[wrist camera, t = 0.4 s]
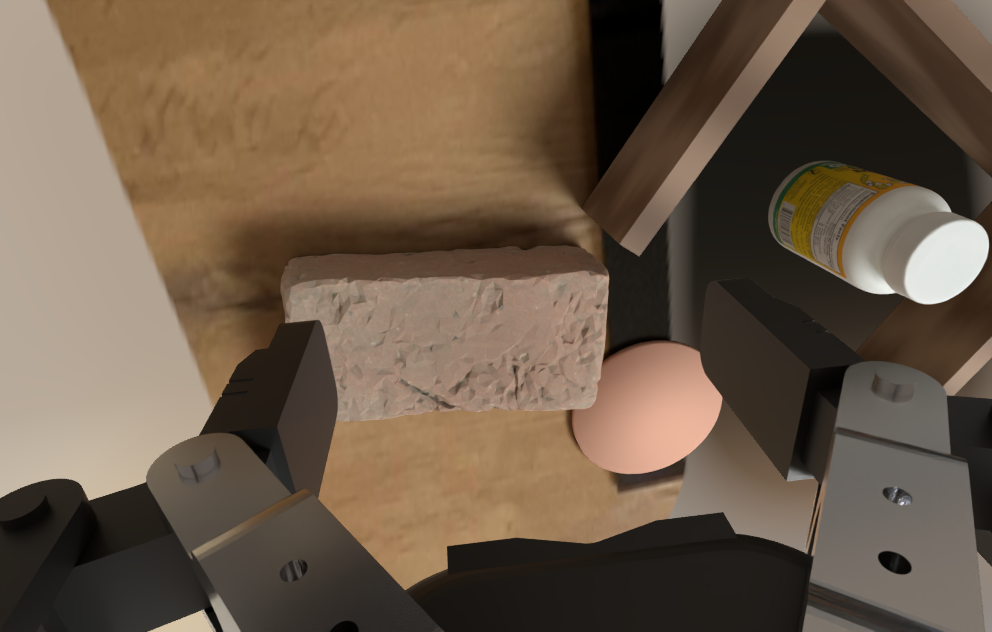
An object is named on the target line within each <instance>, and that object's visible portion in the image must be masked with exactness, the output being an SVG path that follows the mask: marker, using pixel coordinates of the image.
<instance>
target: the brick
mask: <svg viewBox="0 0 992 632" xmlns="http://www.w3.org/2000/svg"><path fill="white" fill-rule="evenodd" d="M608 283H609V275H608V271H607V269H606V268H605V266H604V265H603V264H602V263H601V262H600V261H599V260H597V259H596V258H595V257H594V256H593V255H592V254H590V253H588V252H587V251H586V250H585V249H582V248H580V247H571V246H568V245H561V246H537V247H534V248H532V249H528V250H522V249H520V248H518V247H515V246H506V247H502V248H487V249H456V250H451V251H442V250H440V251H429V252H421V253H414V252H410V253H391V254H383V255H372V254H329V255H323V256H305V257H296V258H293V259H291V260H290V261H289V263H288V265H287V266H285V269H284V273H283V275H282V277H281V288H280V291H281V295H282V300H283V306H284V311H285V323H290V322H300V321H310V320H320V322H321V323H322V326H323V329H324V332H325V337H326V341H327V346H328V350H329V355H330V359H331V364H332V368H333V373H334V377H335V382H336V387H337V395H338V412H337V418H336V421H366V420H381V419H390V418H395V417H399V416H404V415H420V414H424V413H428V412H431V411H433V410H434V409H435V410H437V411H439V412H447V411H453V410H465V411H475V412H481V411H482V410H485V411H489V410H491V409H492V408H497V409H502V410H509V411H510V410H516V409H519V410H523V411H549V410H570V409H586V408H589V407H591V406H592V405H593V404H594V402H595V400H596V396H597V390H598V385H597V382H598V381H599V380H600V378H601V367H602V361H603V354H604V346H605V337H606V318H607V302H608V292H609V291H608Z"/></svg>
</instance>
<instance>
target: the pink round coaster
mask: <svg viewBox="0 0 992 632" xmlns="http://www.w3.org/2000/svg"><path fill="white" fill-rule="evenodd" d="M597 385H598V390H597V396H596V400H595V402H594V404H593V405H592V406H591V407H589V408H586V409H573V410H572V428H573V432H574V435H575V438H576V440H577V442H578V444H579V446H580V448H581V450H582V451H583V453H584V454H585V455H586V456H587V457H588V458H589V459H590V460H591V461H592V462H594V463H595V464H596V465H598V466H600V467H602V468H604V469H607V470H610V471H613V472H617V473H625V474H639V473H647V472H651V471H655V470H658V469H661V468H664V467H667V466H669V465H671V464H673V463H675V462H677V461H679V460H680V459H682V458H684V457H685V456H686V455H688V454H689V453H690V452H691V451H693V450H694V449H695V448H696V447H697V446H698V445H699V444H700V443H701V442H702V441H703V440H704V439H705V438H706V436H707V435H708V434H709V432H710V431H711V429H712V428H713V426H714V424H715V422H716V420H717V418H718V415H719V412H720V408H721V403H722V396H721V394H720V393H719V392H718V390H717V389H716V388H715V386H714V385H713V384H712V383H711V381H710V380H709V379H708V377H707V376H706V374H705V372H704V370H703V367H702V363H701V358H700V352H699V351H698V350H696V349H695V348H693V347H691V346H689V345H687V344H684V343H680V342H676V341H670V340H653V341H646V342H641V343H637V344H634V345H631V346H628V347H626V348H624V349H622V350H620V351H618V352H616V353H614V354H613V355H611V356H609V357H608V358H607V359H605V360H604V361H603V362H602V367H601V378H600V380H599V381H598V382H597Z"/></svg>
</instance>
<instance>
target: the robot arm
mask: <svg viewBox="0 0 992 632" xmlns="http://www.w3.org/2000/svg"><path fill="white" fill-rule="evenodd" d="M700 358H701V363H702V367H703V370H704V372H705V374H706V376H707V377H708V379H709V380H710V381H711V383H712V384H713V385H714V386H715V388H716V389H717V390H718V392H719V393H720V394H721V396H722V397H723V398H724V400H725V401H726V402H727V404H728V405H729V406H730V407H731V409H732V410H733V411H734V413H735V414H736V415H737V417H738V418H739V419H740V421H741V422H742V423H743V425H744V426H745V427H746V429H747V430H748V431H749V432H750V434H751V435H752V436H753V438H754V439H755V440H756V442H757V443H758V444H759V446H760V447H761V448H762V450H763V451H764V452H765V454H766V455H767V456H768V457H769V459H770V460H771V461H772V463H773V464H774V465H775V467H776V468H777V469H778V471H779V472H780V473H781V475H782V476H783V477H784V479H785V480H786V481H794V480H802V479H810V478H815V479H816V480H817V481H818V487H817V491H816V495H815V499H814V504H813V509H812V514H811V519H810V524H809V530H808V535H807V540H806V545H805V550H804V552H802V551H799V550H797V549H795V548H792V547H789V546H787V545H784V544H781V543H778V542H775V541H771V540H767V539H764V538H760V537H754V536H749V535H742V534H735V532H734V530H733V528H732V527H731V525H730V523H729V522H728V520H727V518H726V517H725V515H724V513H723V512H722V513H714V514H706V515H697V516H689V517H681V518H673V519H665V520H657V521H654V522H651V523H648V524H646V525H643V526H640V527H637V528H635V529H632V530H629V531H626V532H624V533H621V534H618V535H615V536H613V537H610V538H607V539H604V540H602V541H599V542H595V543H589V544H584V543H572V542H560V541H548V540H536V539H525V538H511V539H503V540H494V541H486V542H478V543H470V544H462V545H454V546H447V556H448V569H446V570H444V571H441V572H439V573H436V574H434V575H432V576H430V577H428V578H426V579H424V580H421V581H420V582H418V583H416V584H415V585H413V586H412V587H410V588H408V589H407V590H404V589H403V588H402V587H401V586H400V585H399V584H398V583H397V582H396V581H395V580H394V579H393V578H392V576H391V575H390V574H389V573H388V572H387V571H386V570H385V569H384V568H383V567H382V566H381V565H380V564H379V563H378V562H377V561H376V560H375V559H374V558H373V557H372V555H371V554H370V553H369V552H368V551H367V550H366V549H365V548H364V547H363V546H362V545H361V544H360V543H359V542H358V541H357V540H356V539H355V538H354V537H353V536H352V534H351V533H350V532H349V531H348V530H347V529H346V528H345V527H344V526H343V525H342V524H341V523H340V522H339V521H338V520H337V519H336V518H335V517H334V516H333V514H332V513H331V512H330V511H329V510H328V509H327V508H326V507H325V506H324V505H323V504H322V503H321V502H320V501H319V500H318V496H319V492H320V487H321V483H322V479H323V474H324V470H325V466H326V461H327V457H328V453H329V448H330V444H331V440H332V435H333V431H334V427H335V422H336V418H337V412H338V395H337V387H336V382H335V377H334V373H333V368H332V364H331V359H330V355H329V350H328V346H327V341H326V337H325V332H324V329H323V326H322V323H321V322H320V320H310V321H300V322H290V323H281V324H280V325H279V327H278V329H277V331H276V334H275V336H274V338H273V340H272V342H271V344H270V346H269V348H268V349H260V350H255V351H254V352H253V353H252V354H250V355H249V356H248V357H247V358H245V359H244V360H243V361H242V362H240V363H239V364H238V365H237V367H236V369H235V371H234V372H233V374H232V376H231V378H230V380H229V384H227V385H226V387H225V389H224V391H223V393H222V397H220V398H219V400H218V402H217V404H216V405H215V407H214V409H213V411H212V413H211V415H210V416H209V419H208V420H207V422H206V424H205V426H204V427H203V429H202V431H201V433H200V435H199V436H197V437H194V438H190V439H188V440H186V441H183V442H181V443H179V444H177V445H175V446H173V447H172V448H170V449H169V450H167V451H166V452H164V453H163V454H162V455H161V456H160V457H159V458H157V459H156V460H155V462H154V463H153V464H152V465H151V467H150V469H149V470H148V473H147V476H146V482H145V483H143V484H140V485H137V486H134V487H131V488H128V489H125V490H122V491H119V492H115V493H112V494H109V495H106V496H103V497H99V498H96V499H93V500H90V501H89V500H88V498H87V496H86V494H85V492H84V490H83V488H82V486H81V485H80V484H79V483H78V482H76V481H73V480H69V479H51V480H46V481H41V482H37V483H34V484H31V485H28V486H25V487H22V488H20V489H18V490H16V491H13V492H11V493H9V494H7V495H5V496H4V497H2V498H0V632H148V631H150V630H153V629H155V628H158V627H160V626H163V625H165V624H168V623H171V622H173V621H176V620H178V619H181V618H183V617H186V616H188V615H191V614H193V613H196V612H198V611H201V610H202V611H203V614H204V615H205V617H206V619H207V621H208V623H209V624H210V626H211V628H212V630H213V632H985V625H984V615H983V605H982V596H981V586H980V577H979V567H978V557H977V551H978V552H979V554H980V555H981V556H982V557H983V558H984V559H985V560H986V561H987V562H988V563H989V564H990V565H991V566H992V399H985V398H973V397H959V396H948V395H947V394H946V391H945V389H944V388H943V386H942V385H941V384H940V383H939V382H938V381H936V380H935V379H934V378H932V377H931V376H929V375H927V374H925V373H923V372H921V371H919V370H916V369H914V368H911V367H908V366H905V365H901V364H896V363H890V362H882V361H865V360H864V359H863V358H862V357H860V356H859V355H858V354H857V353H855V352H854V351H853V350H852V349H850V348H849V347H848V346H847V345H845V344H844V343H843V342H842V341H840V340H839V339H838V338H837V337H835V336H834V335H833V334H828V330H827V329H825V328H824V327H823V326H822V325H820V324H819V323H815V320H814V319H813V318H812V317H810V316H809V315H808V314H807V313H805V312H804V311H803V310H802V309H800V308H799V307H797V306H794V305H792V304H789V303H787V302H785V301H782V300H780V299H778V298H773V297H772V296H771V295H770V294H768V293H767V292H766V291H765V290H764V289H762V288H761V287H760V286H758V284H756V283H755V282H754V281H753V280H751V279H750V278H739V279H729V280H720V281H712V282H711V283H710V284H709V285H708V287H707V291H706V296H705V305H704V315H703V323H702V333H701V342H700Z"/></svg>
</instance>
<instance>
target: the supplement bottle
mask: <svg viewBox="0 0 992 632" xmlns="http://www.w3.org/2000/svg"><path fill="white" fill-rule="evenodd" d="M768 222H769V227H770V230H771V233H772V234H773V236H774V238H775V239H776V240H777V242H778V243H779V244H781V245H782V246H783V247H785V248H787V249H789V250H790V251H792V252H794V253H796V254H798V255H800V256H801V257H803V258H805V259H807V260H809V261H810V262H813V263H814V264H816V265H818V266H820V267H821V268H824V269H825V270H827V271H829V272H830V273H832V274H834V275H836V276H838V277H839V278H841V279H843V280H845V281H846V282H849V283H850V284H852V285H854V286H855V287H857V288H859V289H861V290H864V291H866V292H870V293H874V294H892V293H898V294H900V295H902V296H905V297H907V298H909V299H911V300H913V301H915V302H917V303H922V304H936V303H940V302H944V301H946V300H949V299H950V298H953V297H954V296H956V295H958V294H959V293H960V292H962V291H963V290H964V289H965V288H967V287H968V286H969V285H970V284H971V283H972V282H973V280H974V279H975V278H976V277H977V275H978V274H979V272H980V271H981V269H982V267H983V265H984V263H985V261H986V259H987V255H988V250H989V240H988V236H987V233H986V231H985V230H984V228H983V227H982V226H981V225H980V224H978V223H977V222H975V221H973V220H970V219H968V218H965V217H963V216H960V215H958V214H955V213H952V212H951V210H950V208H949V206H948V204H947V203H946V201H945V200H944V199H943V198H942V197H941V196H939V195H938V194H937V193H935V192H933V191H931V190H929V189H926V188H923V187H919V186H917V185H914V184H910V183H906V182H903V181H900V180H896V179H893V178H890V177H887V176H883V175H880V174H877V173H874V172H869V171H866V170H863V169H860V168H856V167H853V166H850V165H846V164H843V163H839V162H835V161H816V162H811V163H808V164H805V165H803V166H801V167H799V168H797V169H795V170H794V171H793V172H792V173H790V174H789V175H788V176H787V177H786V178H785V179H784V180H783V181H782V183H781V184H780V185H779V187H778V188H777V190H776V191H775V193H774V195H773V197H772V200H771V203H770V206H769V213H768Z"/></svg>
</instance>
